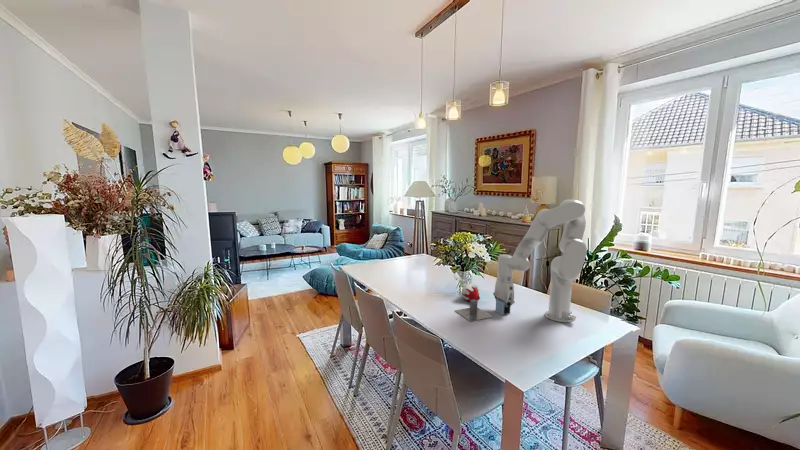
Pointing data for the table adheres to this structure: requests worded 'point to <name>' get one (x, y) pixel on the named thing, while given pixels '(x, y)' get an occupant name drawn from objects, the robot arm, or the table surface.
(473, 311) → the square pedestal stand
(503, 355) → the table surface
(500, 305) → the blue-grey rectangular block
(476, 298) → the red white rounded piece
